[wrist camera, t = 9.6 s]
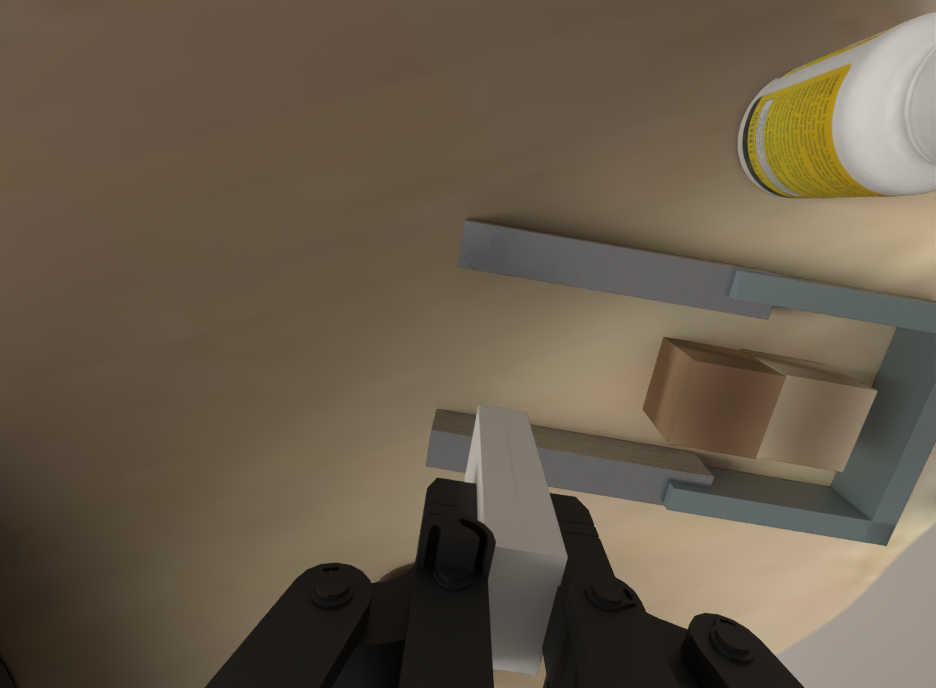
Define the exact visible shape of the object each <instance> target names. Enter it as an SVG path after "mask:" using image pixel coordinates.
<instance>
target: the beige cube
mask: <svg viewBox="0 0 936 688" xmlns="http://www.w3.org/2000/svg"><path fill="white" fill-rule="evenodd" d="M741 351H742V352H744V353H746V354H748V355H749V356H751V357H753V358H755V359H756V360H758V361H760V362H762V363H763V364H765V365H767V366H768V367H770V368H772V369H774V370H775V371H777V372H779V373H781V374H782V375H784V376H786V379H785V382H784V384H783V387H782V390H781V392H780V395H779V398H778V400H777V403H776V406H775V409H774V411H773V414H772V417H771V419H770V422H769V425H768V427H767V430H766V433H765V435H764V438H763V441H762V444H761V446H760V449H759V452H758V454H757V458H763V459H769V460H775V461H781V462H786V463H792V464H798V465H804V466H810V467H815V468H821V469H827V470H833V471H839V472H843V470H844V468H845V466H846V463H847V461H848V459H849V457H850V454H851V452H852V450H853V447H854V445H855V443H856V440H857V438H858V436H859V433H860V431H861V429H862V426H863V424H864V422H865V419H866V417H867V415H868V412H869V410H870V408H871V405H872V403H873V401H874V398H875V396H876V394H877V390H875V389H873V388H871V387H869V386H867V385H864V384H862V383H860V382H858V381H856V380H854V379H852V378H850V377H848V376H846V375H843V374H841V373H839V372H837V371H835V370H833V369H831V368H829V367H827V366H825V365H823V364H820V363H818V362H812V361H806V360H800V359H795V358H789V357H783V356H778V355H772V354H766V353H761V352H755V351H749V350H743V349H741Z"/></svg>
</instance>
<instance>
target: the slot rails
mask: <svg viewBox="0 0 936 688" xmlns="http://www.w3.org/2000/svg"><path fill="white" fill-rule="evenodd" d="M457 267H462V268H468V269H474V270H480V271H486V272H491V273H497V274H503V275H509V276H515V277H521V278H527V279H533V280H538V281H544V282H550V283H556V284H562V285H568V286H574V287H579V288H585V289H591V290H597V291H603V292H609V293H615V294H621V295H626V296H632V297H638V298H644V299H650V300H656V301H662V302H667V303H673V304H679V305H685V306H691V307H697V308H703V309H709V310H714V311H720V312H726V313H732V314H738V315H744V316H750V317H755V318H761V319H767V320H768V318H769V315H770V312H771V309H772V307H773V305H767V304H761V303H756V302H750V301H744V300H738V299H733V298H731V297H729V295H730V291H731V288H732V285H733V282H734V279H735V276H736V272H737V270H741V271H747V272H753V273H759V274H765V275H770V276H776V277H783V275H780V274H776V273H772V272H767V271H763V270H759V269H755V268H750V267H744V266H738V265H732V264H727V263H721V262H715V261H709V260H703V259H697V258H692V257H686V256H680V255H674V254H668V253H662V252H657V251H651V250H645V249H639V248H633V247H628V246H622V245H616V244H610V243H604V242H598V241H593V240H587V239H581V238H575V237H569V236H563V235H558V234H552V233H546V232H540V231H534V230H529V229H523V228H517V227H511V226H505V225H499V224H494V223H488V222H482V221H476V220H470V219H466V220H465V222H464V228H463V234H462V241H461V247H460V253H459V260H458V266H457ZM475 421H476V416H473V415H467V414H461V413H455V412H449V411H443V410H437V409H436V413H435V417H434V421H433V426H432V430H431V436H430V442H429V449H428V455H427V461H426V466H428V467H434V468H440V469H446V470H452V471H458V472H464V473H466V469H467V464H468V458H469V453H470V448H471V442H472V437H473V431H474V426H475ZM530 426H531V430H532V433H533V437H534V440H535V444H536V447H537V451H538V454H539V458H540V461H541V465H542V468H543V472H544V476H545V479H546V483H547V486H549V487H555V488H561V489H567V490H573V491H579V492H585V493H591V494H597V495H603V496H609V497H615V498H621V499H627V500H633V501H639V502H645V503H651V504H657V505H663V506H664V504H663V503H664V500H665V497H666V494H667V491H668V488H669V484H670V483H675V484H681V485H687V486H693V487H699V488H705V489H710V487H711V485H712V482H713V479H714V476H713V475H712V474H711V473H710V471H709V470H708V469H707V468H706V467H705V465H704V464H703V463H702V462H701V461H700V459H699V458H698V457H697V456H696V455H695V453H694V452H689V451H683V450H677V449H671V448H665V447H659V446H653V445H647V444H641V443H635V442H629V441H623V440H617V439H611V438H605V437H599V436H593V435H587V434H581V433H575V432H569V431H563V430H557V429H551V428H545V427H539V426H533V425H530Z"/></svg>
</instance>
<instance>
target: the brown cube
mask: <svg viewBox="0 0 936 688" xmlns="http://www.w3.org/2000/svg"><path fill="white" fill-rule="evenodd" d="M785 379H786V376H784V375H782V374H781V373H779V372H777V371H775V370H774V369H772V368H770V367H768V366H767V365H765V364H763V363H762V362H760V361H758V360H756V359H755V358H753V357H751V356H749V355H748V354H746V353H744V352H742V351H740V350H734V349H728V348H723V347H717V346H711V345H706V344H700V343H694V342H688V341H683V340H677V339H671V338H665V337H663V341H662V344H661V348H660V351H659V355H658V358H657V361H656V365H655V368H654V372H653V375H652V379H651V382H650V386H649V389H648V392H647V396H646V399H645V403H644V406H643V411H644V412H645V413H646V414H647V416H648V417H649V418H650V420H651V421H652V422H653V424H654V425H655V426H656V428H657V429H658V430H659V432H660V433H661V434H662V435H663V437H664V438H665V439H666V441H667V442H668V443H669V444H672V445H677V446H683V447H689V448H695V449H701V450H707V451H712V452H718V453H724V454H730V455H736V456H742V457H747V458H753V459H756V457H757V454H758V452H759V449H760V446H761V444H762V441H763V438H764V435H765V433H766V430H767V427H768V425H769V422H770V419H771V417H772V414H773V411H774V409H775V406H776V403H777V400H778V398H779V395H780V392H781V390H782V387H783V384H784V382H785Z"/></svg>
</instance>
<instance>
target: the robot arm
mask: <svg viewBox="0 0 936 688" xmlns="http://www.w3.org/2000/svg"><path fill="white" fill-rule="evenodd" d="M542 654H543V656H544V662H545V668H546V674H547V675H546V678H545V682H544V686H543V688H804V687H803V686H802V685H801V684H800V682H799V681H798V680H797V679H796V678H795V677H794V676H793V675H792V674H791V673H790V672H789V670H788V669H787V668H786V667H785V666H784V665H783V664H782V663H781V662H780V661H779V660H778V658H777V657H776V656H775V655H774V654H773V653H772V652H771V651H770V650H769V649H768V648H767V646H766V645H765V644H764V643H763V642H762V641H761V640H760V639H759V638H758V637H756V636H755V635H754V634H753V633H752V632H751V631H750V630H749V629H747V628H745V627H744V626H742V625H740V624H739V623H737V622H735V621H734V620H731V619H729V618H726V617H723V616H721V615H718V614H709V613H703V614H700V615H696V616H694V618H693V619H692V621H691V622H690V625H689V627H688V630H687V629H685V628H682V627H680V626H677V625H674V624H672V623H669V622H667V621H664V620H662V619H659V618H657V617H655V616H653V615H650V614H648V613H647V612H646V611H645V608H644V606H643V604H642V602H641V600H640V599H639V597H638V596H637V594H636V593H635V591H634V590H632V589H631V588H630V587H629V586H628V585H627V584H626V583H624V582H623V581H621V580H619V579H617V578H615V576H614V573H613V571H612V568H611V566H610V563H609V561H608V558H607V555H606V553H605V550H604V548H603V545H602V543H601V540H600V539H599V535H598V533H597V530H596V528H595V527H594V523H593V520H592V518H591V515H590V513H589V510H588V509H587V508H586V507H585V506H584V505H583V504H582V503H581V502H580V501H579V500H578V499H577V498H576V497H572V496H566V495H559V494H552V493H549V490H548V486H547V483H546V479H545V476H544V472H543V468H542V465H541V461H540V458H539V454H538V451H537V447H536V444H535V440H534V437H533V433H532V430H531V426H530V423H529V419H528V416H527V412H523V411H516V410H510V409H504V408H497V407H491V406H485V405H478V410H477V415H476V421H475V426H474V431H473V437H472V442H471V448H470V453H469V458H468V464H467V469H466V475H465V480H464V482H462V481H455V480H449V479H442V478H436V480H435V481H434V482H433V483H432V484H431V485H430V486H429V487H428V488H427V493H426V499H425V505H424V511H423V517H422V523H421V529H420V535H419V542H418V548H417V555H416V561H415V564H414V565H413V566H412V568H411V569H410V570H409V571H408V572H406V573H405V574H404V575H402V576H400V577H397V578H395V579H393V580H388V581H383V582H376V583H371V582H370V580H369V578H368V577H367V576H366V575H365V574H364V573H363V571H361V570H359V569H357V568H355V567H353V566H351V565H347V564H341V563H327V564H320V565H318V566H315V567H313V568H310V569H308V570H306V571H305V572H304V573H302V574H301V575H300V576H299V577H298V578H296V580H295V581H294V582H293V583H292V584H291V585H290V587H289V588H288V589H287V590H286V591H285V593H284V594H283V595H282V596H281V597H280V599H279V600H278V601H277V602H276V603H275V605H274V606H273V607H272V608H271V609H270V611H269V612H268V613H267V614H266V615H265V616H264V618H263V619H262V620H261V621H260V622H259V624H258V625H257V626H256V627H255V628H254V630H253V631H252V632H251V633H250V634H249V636H248V637H247V638H246V639H245V640H244V641H243V643H242V644H241V645H240V646H239V647H238V649H237V650H236V651H235V652H234V653H233V655H232V656H231V657H230V658H229V659H228V661H227V662H226V663H225V664H224V665H223V666H222V668H221V669H220V670H219V671H218V672H217V674H216V675H215V676H214V677H213V678H212V680H211V681H210V682H209V683H208V684H207V686H206V687H205V688H494V679H493V669H495V670H503V671H510V672H518V673H525V674H533V675H537V674H538V670H539V666H540V662H541V658H542ZM0 688H14V686H13V683H12V681H11V679H10V677H9V675H8V673H7V671H6V670H5V668H4V667H3V665H2V664H1V662H0Z"/></svg>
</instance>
